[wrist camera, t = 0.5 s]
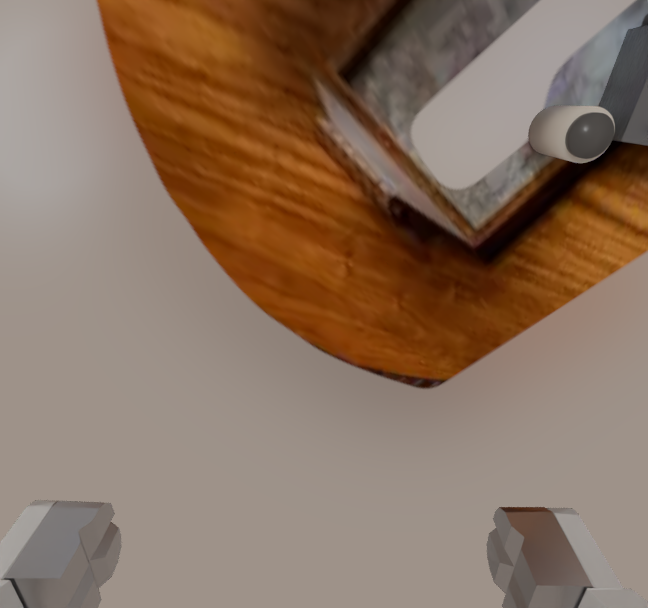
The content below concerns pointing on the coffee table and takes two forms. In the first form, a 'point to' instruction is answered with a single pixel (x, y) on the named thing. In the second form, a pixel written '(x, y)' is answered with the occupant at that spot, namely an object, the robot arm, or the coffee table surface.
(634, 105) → the grey socket block
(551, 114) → the cream cylinder
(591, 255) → the coffee table surface
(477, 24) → the coffee table surface
